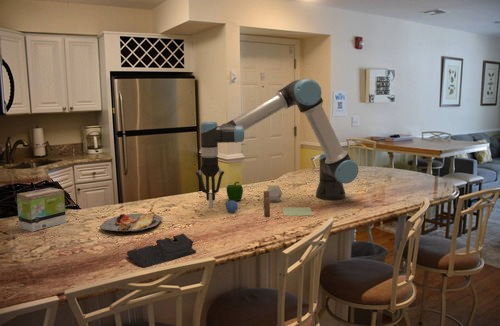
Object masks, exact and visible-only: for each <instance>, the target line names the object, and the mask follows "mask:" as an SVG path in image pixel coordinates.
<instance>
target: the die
mask: <svg viewBox="0 0 500 326" xmlns="http://www.w3.org/2000/svg"><path fill="white" fill-rule="evenodd" d="M266 191H269V198H270V203H271V202H272V203H275V202H276V203H277V202H280V200H281V197H282V194H283V191H282V189H281V188H280V186H279V185H278V184H277V185H268V187H267V189H266Z"/></svg>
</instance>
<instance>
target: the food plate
mask: <svg viewBox="0 0 500 326" xmlns="http://www.w3.org/2000/svg"><path fill="white" fill-rule="evenodd" d="M162 220H163V217H162V216H160V215H158V214H156V213H155V212H154V211H153V212H147V213H141V212H140V213H139V212H138V213H129V214H125V213H121V214H119V215H118V216H114V217H112V218H108V219H106V220H105V221H104V222H103V223H101V224H100V226H99V228H100V229H101V230H104V231H105V230H107V231H114V232H120V233H125V232H127V233H129V232H139V231H140V232H142V231H144V230H147V229H148V228H153V227H155V226H157V225H159V223H160V222H162Z"/></svg>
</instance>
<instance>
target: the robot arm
mask: <svg viewBox="0 0 500 326" xmlns="http://www.w3.org/2000/svg"><path fill="white" fill-rule="evenodd" d="M323 103H324V100H323V98H322V88H321V85H320V84H319V83H318V82H317V81H316V80H314V79H311V78H302V79H296V80H292V81H291V82H289V84H286V85H285V86H284V87H283V88H281V89H279V90H278V91H276V93H275V94H274V95H272V97H270V98H268V99H266V100H264V101H263V102H261V103H259V104H258V105H256V106H254V107H252V108H249V110H247V111H245V112H243V113H241V114H239V115H238V116H236V117H234V118H232V119H231V120H229V121H228V122H226V123H222V124H220V125H218V123H217V121H202V122H201V123H200V131H199V133H200V154H201V155H200V156H201V158H200V159H201V160H200V162H201V163H200V164H201V166H200V169H199V170H197V171H196V172H195V175H196V176H197V178H198V181H199V184H200V188H201V192H202V193H205V195H206V201H208V208H209V209H213V208H214V201H215V200H216V194H217V193H219V192H220V186H221V183H222V178H223V176H224V174H225V171H224V170H221V169H220V166H219V157H218V155H219V148H218V147H219V144H220V143H222V144H223V143H242V142H244V140H245V131H247V130H248V129H250V128H252V127H253V126H255V125H256V124H259V123H260V122H262V121H263V120H265V119H267V118H269V117H270V116H273V115H274V114H276V113H278V112H280V111H281V110H283V109H286V110H287V109H288V108H291V107H293V106H297V109H298V110H299V112H300V114H304V115H305V118H306V119H307V121H308V124H309V126H310V127H311V129H312V130H313V133H314V136H315V137H316V139H317V141H318V143H319V145H320V147H321V149H322V152H323V153H321V154H320V155H319V183H318V186H317V188H316V191H315V197H316V198H318V199H322V200H328V201H330V200H331V201H333V200H334V201H335V200H342V199H345V198H346V191H345V187H344V184H349V183H352V182H354V181H355V180H356V178H358V174H359V165H358V164H357V163H356V162H355V161H354V160H352V158H351V156H350V155H349V152H348V150H344V149H343V147H342V145H341V142H340V141H339V138H338V137H337V135H336V133H335V130H334V128H333V127H332V124H331V122H330V120H329V118H328V116H327V114H326V112H325V110H324V108H323ZM217 174H218V180H217V185H216V182H215V181H216V179H215V178H216V175H217ZM202 175H204V176H205V183H204V180H203V176H202ZM210 179H211V180H210ZM210 181H211V192H210Z"/></svg>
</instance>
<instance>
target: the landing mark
mask: <svg viewBox="0 0 500 326" xmlns="http://www.w3.org/2000/svg"><path fill="white" fill-rule="evenodd" d="M281 210H282V212H283V216H284V217H292V216H293V217H299V216H300V217H309V216H310V217H311V216H314V214H313V212H312V208H311V207H308V206H307V207H306V206H305V207H304V206H303V207H302V206H301V207H298V206H297V207H295V206H294V207H282V209H281Z"/></svg>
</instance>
